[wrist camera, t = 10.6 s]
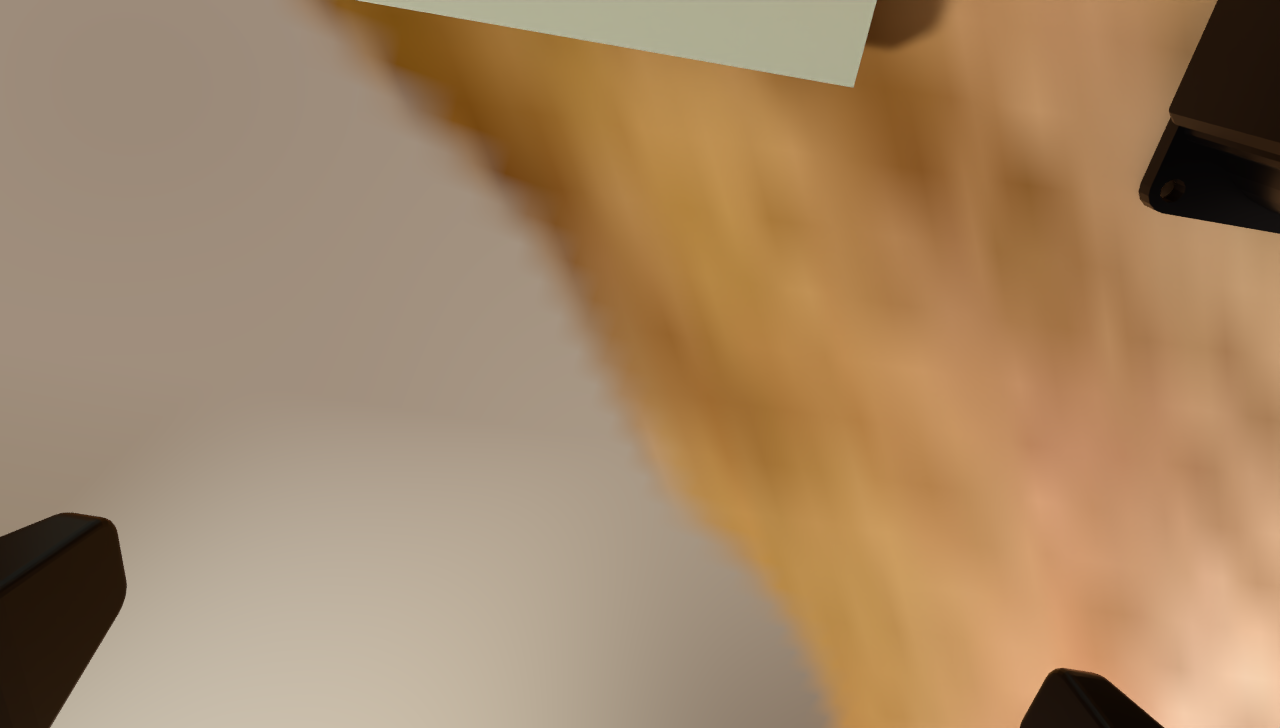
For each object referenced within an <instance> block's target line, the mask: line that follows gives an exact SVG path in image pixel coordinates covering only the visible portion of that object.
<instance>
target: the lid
mask: <svg viewBox="0 0 1280 728" xmlns="http://www.w3.org/2000/svg"><path fill="white" fill-rule="evenodd" d="M358 1H364V2H370V3H375V4H381V5H387V6H392V7H398V8H404V9H409V10H415V11H421V12H427V13H432V14H438V15H444V16H449V17H455V18H461V19H466V20H472V21H478V22H483V23H489V24H495V25H500V26H506V27H512V28H518V29H523V30H529V31H535V32H540V33H546V34H552V35H557V36H563V37H569V38H574V39H580V40H586V41H591V42H597V43H603V44H609V45H614V46H620V47H626V48H631V49H637V50H643V51H648V52H654V53H660V54H665V55H671V56H677V57H682V58H688V59H694V60H700V61H705V62H711V63H717V64H722V65H728V66H734V67H739V68H745V69H751V70H756V71H762V72H768V73H774V74H779V75H785V76H791V77H796V78H802V79H808V80H813V81H819V82H825V83H830V84H836V85H842V86H847V87H854V83H855V80H856V76H857V72H858V69H859V65H860V61H861V57H862V54H863V50H864V46H865V43H866V39H867V35H868V31H869V28H870V24H871V20H872V17H873V13H874V9H875V5H876V2H877V0H358Z"/></svg>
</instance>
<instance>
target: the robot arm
mask: <svg viewBox="0 0 1280 728" xmlns="http://www.w3.org/2000/svg"><path fill="white" fill-rule="evenodd" d="M1169 113H1170V116H1171V117H1170V120H1169V122H1168V124H1167V126H1166V129H1165V131H1164V133H1163V135H1162V137H1161V140H1160V142H1159V144H1158V146H1157V148H1156V151H1155V153H1154V155H1153V157H1152V159H1151V162H1150V164H1149V166H1148V168H1147V170H1146V173H1145V175H1144V177H1143V179H1142V182H1141V184H1140V188H1139V196H1140V200H1141V201H1142V202H1143V203H1144V205H1145V206H1147V207H1149V208H1152V209H1154V210H1156V211H1158V212H1161V213H1164V214H1170V215H1176V216H1181V217H1187V218H1193V219H1199V220H1204V221H1210V222H1216V223H1222V224H1227V225H1233V226H1239V227H1245V228H1250V229H1256V230H1262V231H1268V232H1273V233H1279V234H1280V0H1218V1H1217V3H1216V5H1215V8H1214V10H1213V12H1212V14H1211V17H1210V19H1209V21H1208V23H1207V25H1206V28H1205V30H1204V32H1203V34H1202V37H1201V39H1200V41H1199V43H1198V45H1197V48H1196V50H1195V52H1194V54H1193V57H1192V59H1191V61H1190V63H1189V65H1188V68H1187V70H1186V72H1185V74H1184V77H1183V79H1182V81H1181V83H1180V85H1179V88H1178V90H1177V92H1176V94H1175V97H1174V99H1173V101H1172V103H1171V106H1170V108H1169ZM1171 180H1174V181H1175V185H1174V189H1173V190H1172V192H1171V193H1170V194H1169V195H1167V196H1165V197H1163V198H1161V196H1160V193H1161V189H1162V187H1163V186H1164V185H1165V183H1167V182H1169V181H1171ZM126 588H127V583H126V577H125V571H124V566H123V561H122V555H121V550H120V544H119V539H118V533H117V529H116V527H115V525H114V524H113V523H112V522H111V521H110V520H108V519H106V518H103V517H97V516H91V515H84V514H78V513H60V514H57V515H54V516H51V517H49V518H46V519H44V520H41V521H39V522H36V523H34V524H31V525H29V526H26V527H24V528H21V529H19V530H16V531H14V532H11V533H9V534H7V535H4V536H1V537H0V728H50V727H51V725H52V724H53V722H54V720H55V719H56V717H57V715H58V713H59V712H60V710H61V709H62V707H63V705H64V704H65V702H66V700H67V698H68V697H69V695H70V694H71V692H72V690H73V688H74V687H75V685H76V684H77V682H78V680H79V678H80V677H81V675H82V674H83V672H84V670H85V668H86V667H87V665H88V664H89V662H90V660H91V658H92V657H93V655H94V653H95V652H96V650H97V649H98V647H99V645H100V643H101V642H102V640H103V639H104V637H105V635H106V633H107V632H108V630H109V628H110V627H111V625H112V624H113V622H114V620H115V618H116V617H117V615H118V613H119V611H120V609H121V607H122V605H123V602H124V599H125V596H126ZM1020 728H1164V727H1163V726H1161V725H1160V724H1159V723H1158V722H1157V721H1156V720H1154V719H1153V718H1152V717H1151V716H1150V715H1148V714H1147V713H1146V712H1145V711H1144V710H1143V709H1141V708H1140V707H1139V706H1138V705H1137V704H1135V703H1134V702H1133V701H1132V700H1131V699H1130V698H1128V697H1127V696H1126V695H1125V694H1124V693H1122V692H1121V691H1120V690H1119V689H1118V688H1117V687H1115V686H1114V685H1113V684H1112V683H1111V682H1109V681H1108V680H1107V679H1106V678H1104V677H1102V676H1101V675H1098V674H1095V673H1091V672H1085V671H1079V670H1072V669H1066V668H1058V669H1055V670H1053V671H1052V672H1050V673H1049V674H1048V676H1047V677H1046V679H1045V680H1044V682H1043V684H1042V686H1041V688H1040V689H1039V691H1038V693H1037V695H1036V697H1035V698H1034V700H1033V702H1032V704H1031V706H1030V707H1029V709H1028V711H1027V713H1026V714H1025V716H1024V718H1023V720H1022V722H1021V725H1020Z"/></svg>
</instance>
